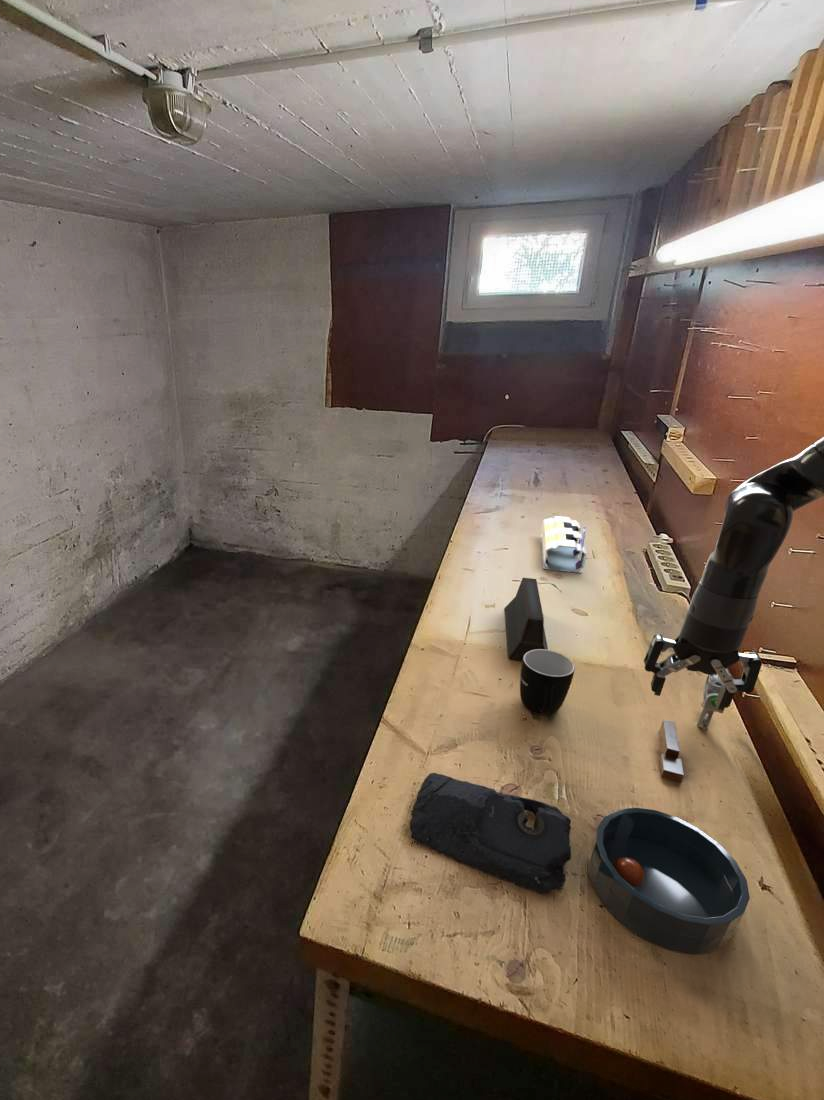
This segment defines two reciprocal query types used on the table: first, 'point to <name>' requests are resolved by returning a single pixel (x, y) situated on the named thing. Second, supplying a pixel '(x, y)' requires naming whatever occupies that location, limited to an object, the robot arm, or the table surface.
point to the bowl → (668, 881)
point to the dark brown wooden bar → (670, 752)
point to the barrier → (525, 621)
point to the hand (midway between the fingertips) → (686, 699)
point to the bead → (630, 871)
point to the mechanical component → (710, 699)
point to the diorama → (562, 544)
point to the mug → (545, 680)
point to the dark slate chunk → (493, 832)
